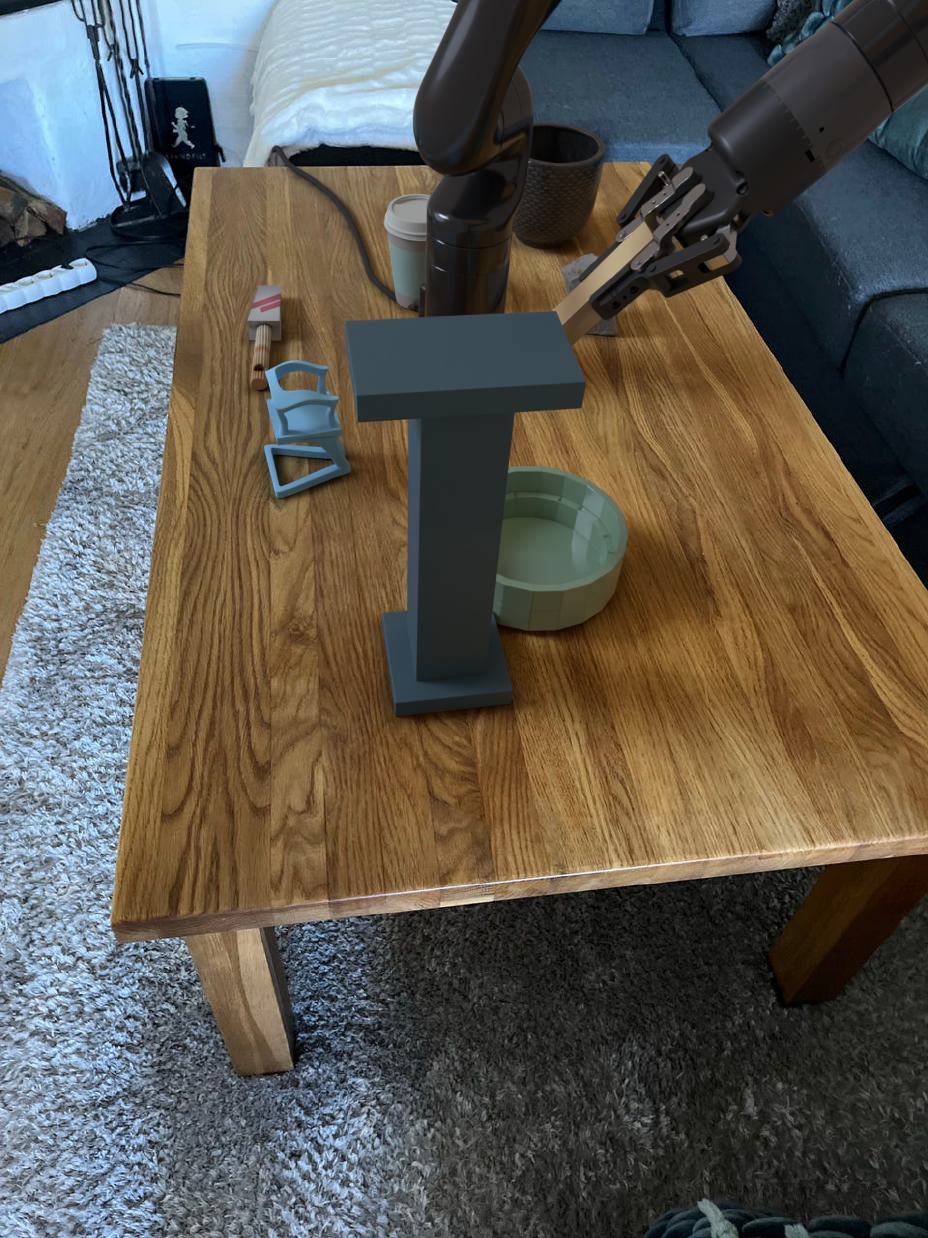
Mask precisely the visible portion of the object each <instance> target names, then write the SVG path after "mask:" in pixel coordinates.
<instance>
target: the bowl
mask: <svg viewBox="0 0 928 1238" xmlns="http://www.w3.org/2000/svg"><path fill="white" fill-rule="evenodd" d="M628 540H629V530H628V526H627V522H626V518H625V515H624V512H623V511H622V509H620V507H619V506H618V505H617V503H616V502H615V500H614V499H613V497H612V496H611V495H610V494H608V493H607V492H605V491H604V490H603V489H602V488H600V487H599V486H598V485H596V484H595V483H594V482H592V481H591V480H589V479H586V478H584V477H582V476H580V475H577V474H575V473H573V472H570V471H568V470H564V469H560V468H559V469H558V468H553V467H549V466H545V465H513V466H509V469H508V478H507V487H506V496H505V505H504V514H503V523H502V532H501V541H500V549H499V558H498V567H497V576H496V585H495V594H494V603H493V612H494V616H495V620H496V624H497V625H499V626H505V627H508V628H513V629H518V630H522V631H526V632H527V631H528V632H529V631H530V632H532V631H533V632H537V631H538V632H539V631H541V632H543V631H559V630H562V629H565V628H566V629H567V628H569V627H572V626H577V625H580V624H583V623H585V622H586V621H587V620H589V619H591V618H592V617H594V616H596V615H597V614H598V613H600V612H601V611H603V610H604V608H605V607H606V605H607V604H608V602H609V601H610V600H611V598H612V597H613V596H614V595H615V593H616V589H617V585H618V582H619V577H620V575H621V569H622V566H623V562H624V558H625V554H626V549H627V545H628Z"/></svg>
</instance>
